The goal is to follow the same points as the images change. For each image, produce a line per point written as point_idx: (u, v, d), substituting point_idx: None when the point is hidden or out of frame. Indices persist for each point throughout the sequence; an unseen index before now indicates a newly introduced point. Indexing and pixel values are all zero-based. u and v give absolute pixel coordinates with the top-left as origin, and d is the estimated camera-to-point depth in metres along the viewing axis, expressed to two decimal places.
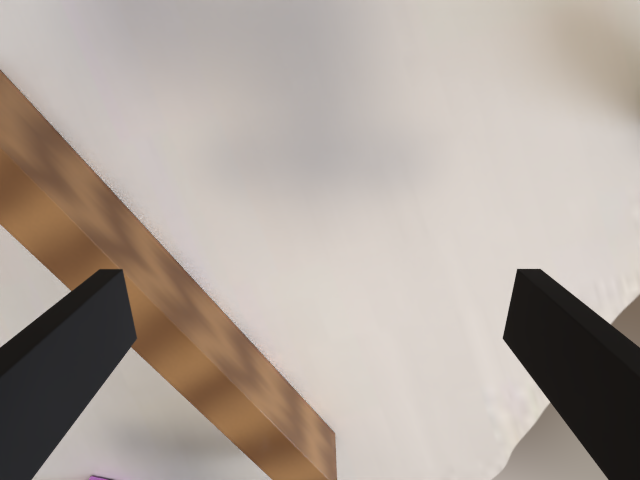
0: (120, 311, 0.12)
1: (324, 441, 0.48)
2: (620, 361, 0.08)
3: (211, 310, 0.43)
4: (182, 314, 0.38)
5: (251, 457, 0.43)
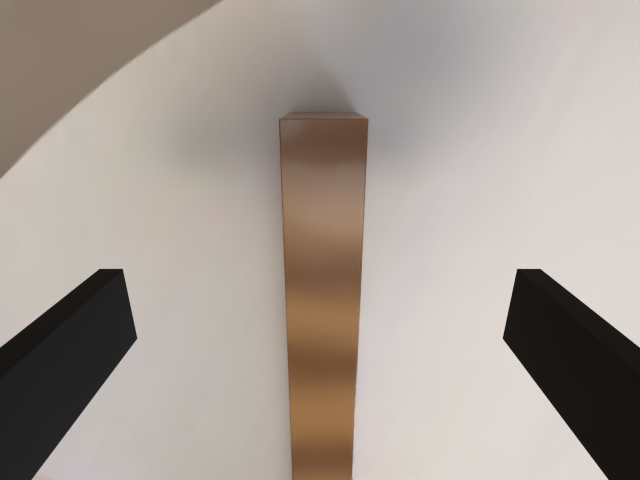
0: (120, 311, 0.12)
1: None
2: (620, 361, 0.08)
3: None
4: None
5: None
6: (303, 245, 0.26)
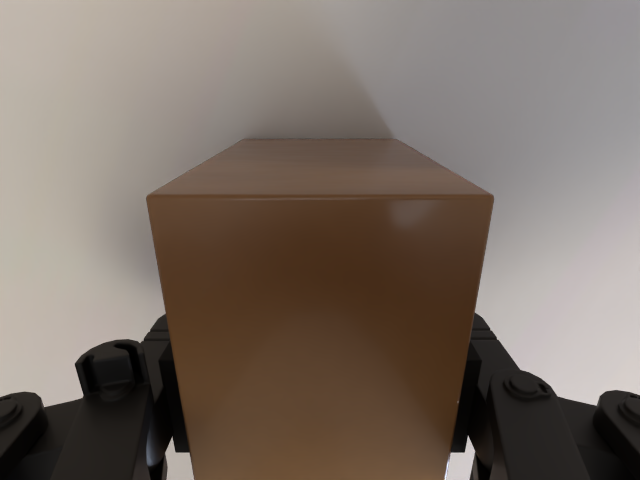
0: None
1: None
2: None
3: None
4: None
5: None
6: None
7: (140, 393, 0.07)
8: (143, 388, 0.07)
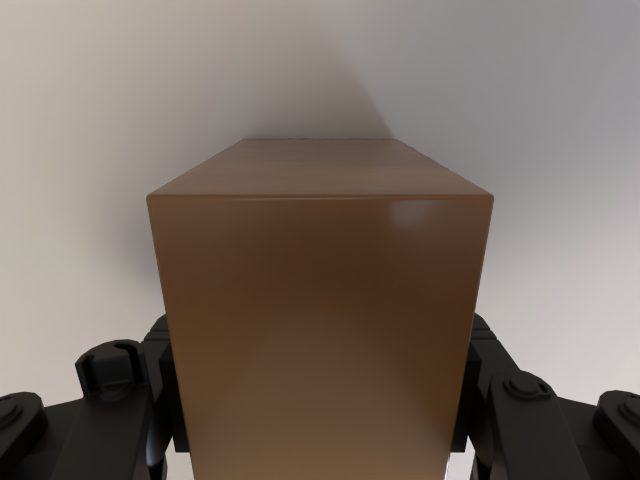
0: None
1: None
2: None
3: None
4: None
5: None
6: None
7: (140, 393, 0.07)
8: (143, 388, 0.07)
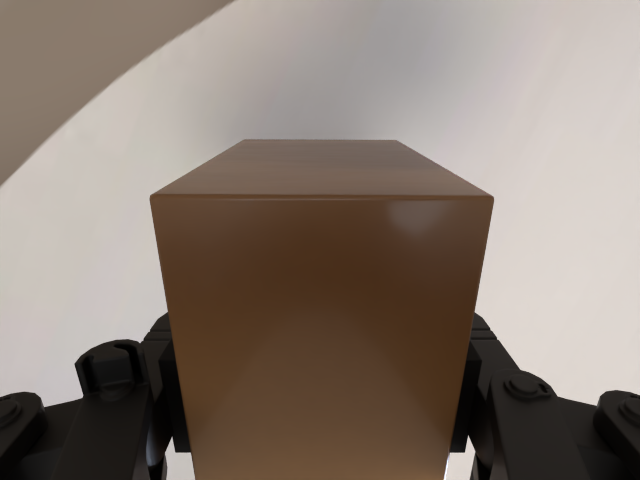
0: None
1: None
2: None
3: None
4: None
5: None
6: None
7: (140, 393, 0.07)
8: (143, 388, 0.07)
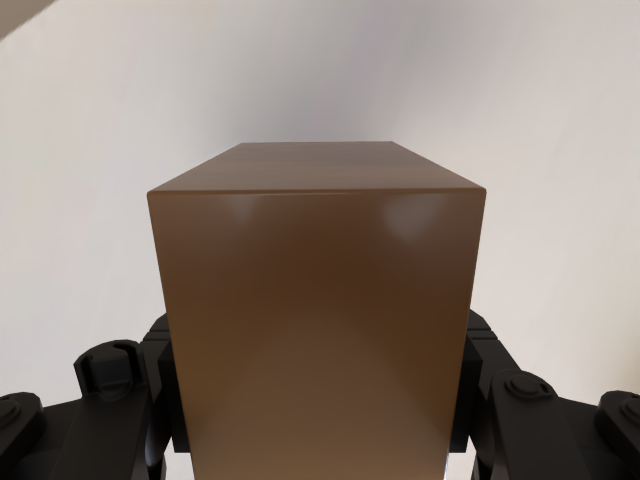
0: None
1: None
2: None
3: None
4: None
5: None
6: None
7: (139, 393, 0.07)
8: (142, 388, 0.07)
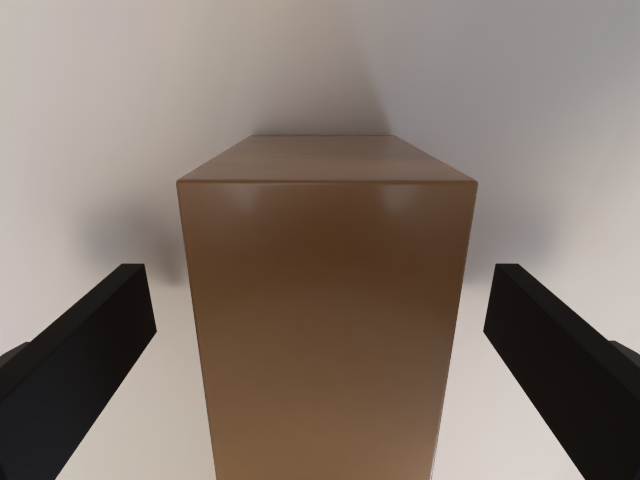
0: (142, 304, 0.12)
1: None
2: (583, 349, 0.08)
3: None
4: None
5: None
6: None
7: None
8: None
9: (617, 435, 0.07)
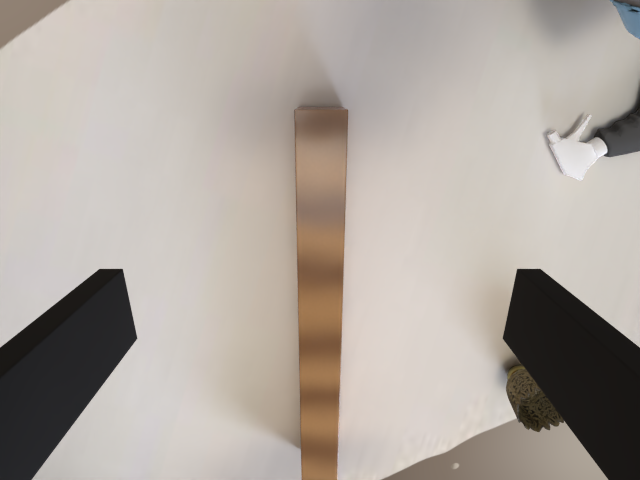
0: (120, 311, 0.12)
1: None
2: (620, 361, 0.08)
3: None
4: None
5: (303, 449, 0.55)
6: (308, 190, 0.41)
7: None
8: None
9: None
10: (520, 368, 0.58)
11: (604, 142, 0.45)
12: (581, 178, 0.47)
